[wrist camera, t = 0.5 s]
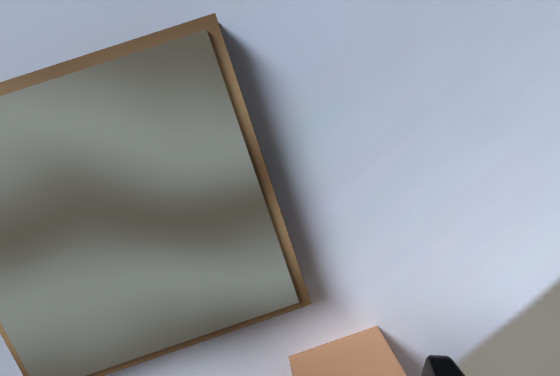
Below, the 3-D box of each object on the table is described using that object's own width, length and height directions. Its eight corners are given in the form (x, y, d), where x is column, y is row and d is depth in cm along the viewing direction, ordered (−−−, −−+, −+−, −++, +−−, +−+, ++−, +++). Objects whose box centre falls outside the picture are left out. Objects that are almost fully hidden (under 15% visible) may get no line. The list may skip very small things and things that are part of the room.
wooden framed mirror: (302, 279, 23) (312, 308, 20) (57, 363, 23) (32, 404, 20) (216, 20, 20) (214, 11, 17) (-73, 114, 20) (-125, 121, 17)
